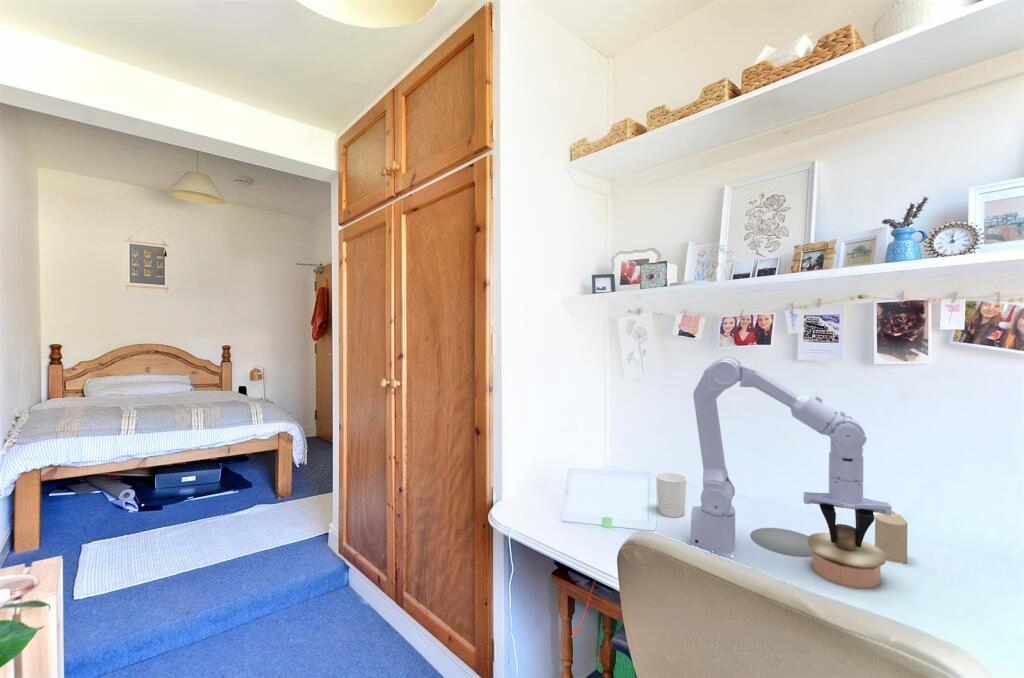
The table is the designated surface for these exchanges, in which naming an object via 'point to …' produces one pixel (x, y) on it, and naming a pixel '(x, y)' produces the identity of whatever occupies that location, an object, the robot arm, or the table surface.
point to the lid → (846, 548)
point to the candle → (891, 536)
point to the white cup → (671, 494)
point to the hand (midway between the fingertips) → (845, 543)
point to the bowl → (846, 573)
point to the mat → (782, 541)
